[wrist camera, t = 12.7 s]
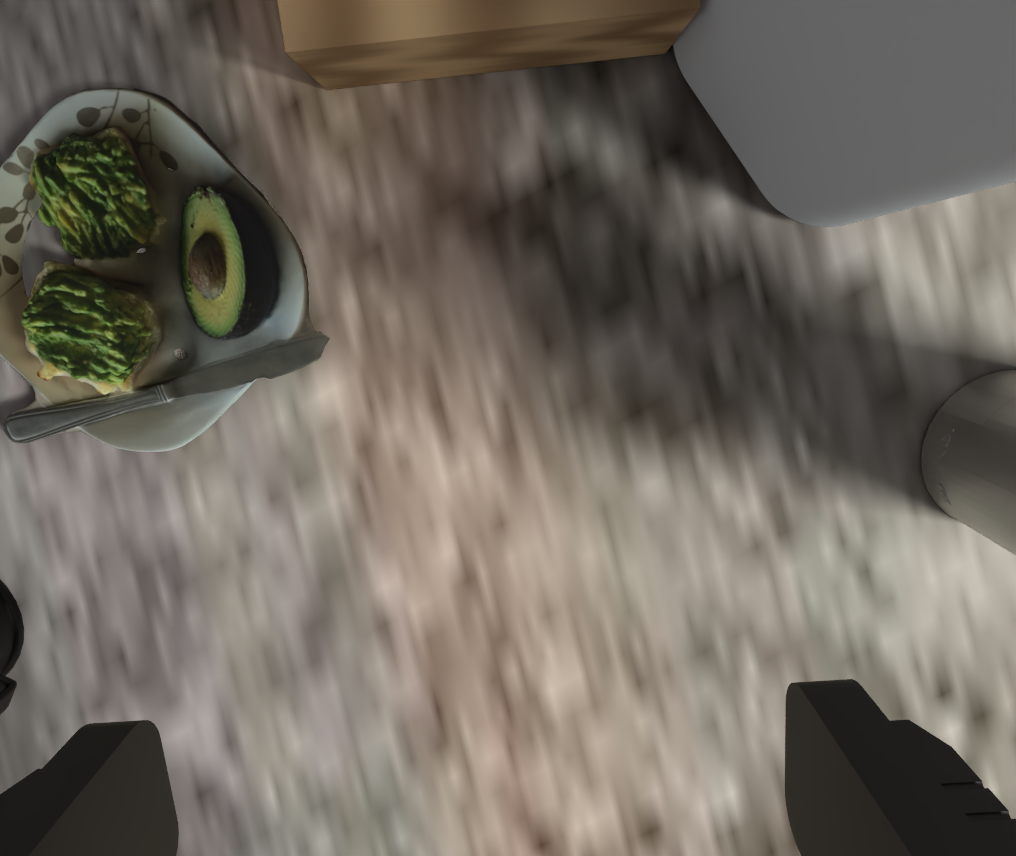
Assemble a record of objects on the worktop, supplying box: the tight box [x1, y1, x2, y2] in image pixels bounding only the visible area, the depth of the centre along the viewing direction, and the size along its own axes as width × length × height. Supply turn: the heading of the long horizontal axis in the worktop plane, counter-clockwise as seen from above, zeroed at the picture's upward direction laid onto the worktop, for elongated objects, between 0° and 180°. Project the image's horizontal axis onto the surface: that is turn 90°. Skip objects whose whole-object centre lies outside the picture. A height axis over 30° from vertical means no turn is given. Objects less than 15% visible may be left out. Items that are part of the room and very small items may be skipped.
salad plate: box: [0, 88, 330, 452], centre depth 38 cm, size 19×18×5 cm
